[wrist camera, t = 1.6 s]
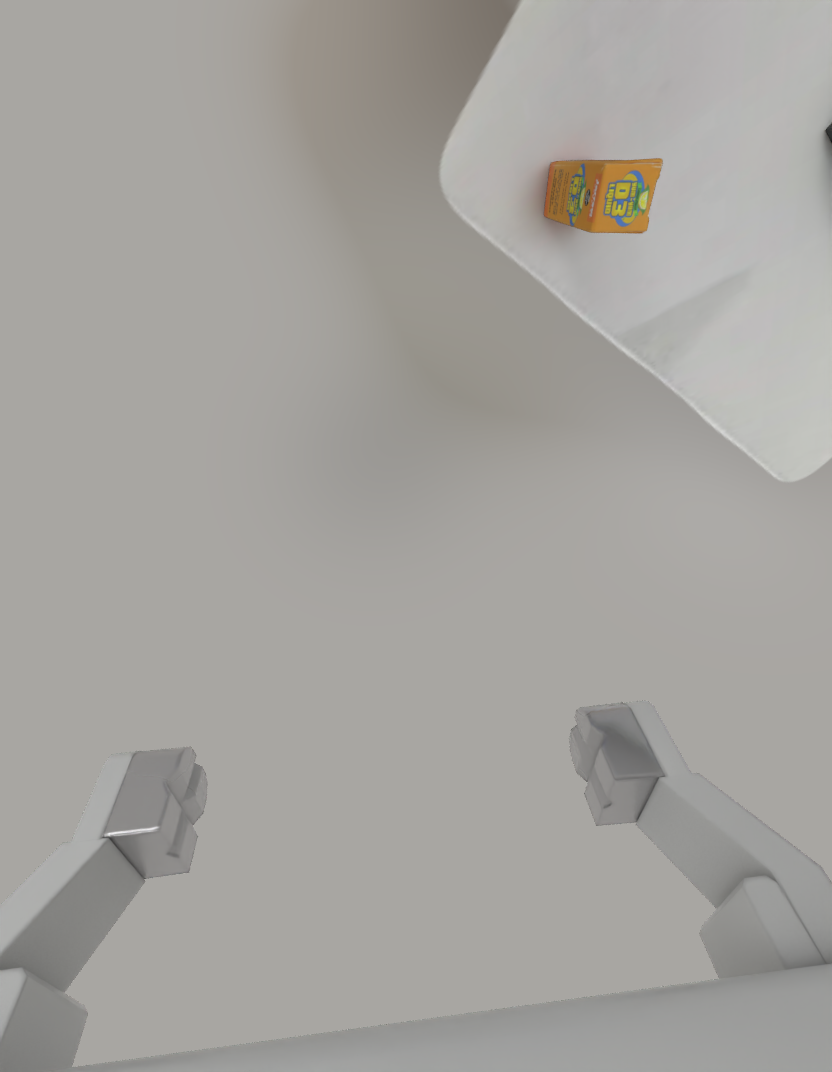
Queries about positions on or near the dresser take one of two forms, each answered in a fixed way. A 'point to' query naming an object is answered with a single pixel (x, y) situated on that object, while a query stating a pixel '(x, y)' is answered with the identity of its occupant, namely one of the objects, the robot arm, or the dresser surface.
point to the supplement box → (602, 194)
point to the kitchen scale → (829, 132)
